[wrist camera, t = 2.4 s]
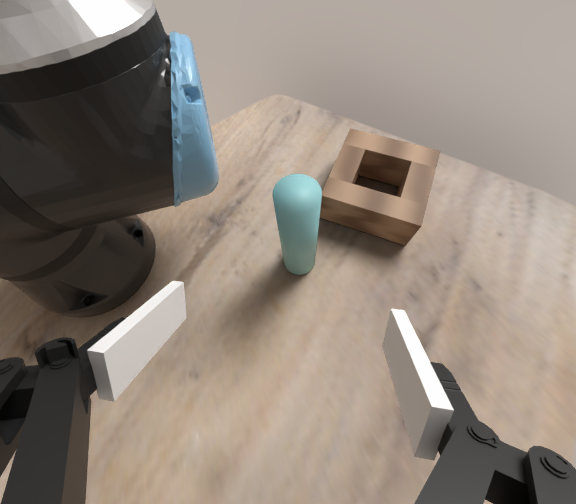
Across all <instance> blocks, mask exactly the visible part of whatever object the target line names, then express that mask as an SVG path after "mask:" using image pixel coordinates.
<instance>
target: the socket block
mask: <svg viewBox="0 0 576 504" xmlns="http://www.w3.org/2000/svg"><path fill="white" fill-rule="evenodd" d="M439 154H440V151H439V150H435V149H431V148H427V147H423V146H419V145H415V144H411V143H407V142H403V141H399V140H395V139H391V138H387V137H383V136H379V135H375V134H371V133H367V132H362V131H358V130H354V129H350V130H349V133H348V135H347V137H346V139H345V142H344V144H343V146H342V148H341V150H340V153H339V155H338V157H337V159H336V162H335V164H334V166H333V168H332V170H331V173H330V175H329V177H328V179H327V182H326V184H325V186H324V188H323V190H322V198H321V208H320V218H323V219H326V220H329V221H332V222H335V223H338V224H341V225H344V226H347V227H350V228H353V229H356V230H360V231H363V232H366V233H369V234H372V235H375V236H378V237H381V238H384V239H387V240H390V241H393V242H396V243H399V244H402V245H405V246H406V244H407V243H408V242H409V241H410V239H411V238H412V237H413V236H414V235H415V233H416V232H417V231H418V230H419V228H420V227H421V225H422V221H423V217H424V214H425V210H426V206H427V202H428V198H429V194H430V190H431V186H432V182H433V178H434V174H435V170H436V166H437V162H438V158H439ZM358 175H360V176H363V177H367V178H370V179H374V180H377V181H381V182H384V183H388V184H392V185H395V186H399V187H398V191H397V194H396V196H393V195H390V194H386V193H383V192H380V191H376V190H373V189H369V188H366V187H362V186H359V185H355V182H356V180H357V177H358Z"/></svg>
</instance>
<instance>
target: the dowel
mask: <svg viewBox="0 0 576 504" xmlns="http://www.w3.org/2000/svg"><path fill="white" fill-rule="evenodd" d="M321 198H322V190H321V187H320V185H319V183H318V182H317V181H316V180H315V179H313V178H312V177H310V176H307V175H304V174H292V175H288V176H286V177H284V178H282V179H281V180H279V181H278V182H277V184H276V185H275V187H274V189H273V201H274V207H275V213H276V218H277V224H278V230H279V236H280V242H281V247H282V253H283V259H284V264H285V267H286V268H287V270H288V271H289V272H291V273H293V274H296V275H303V274H306V273H308V272H309V271H311V269H312V268H313V267H314V264H315V256H316V246H317V237H318V227H319V218H320V208H321Z"/></svg>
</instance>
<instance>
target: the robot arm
mask: <svg viewBox="0 0 576 504" xmlns="http://www.w3.org/2000/svg"><path fill="white" fill-rule="evenodd" d="M218 181H219V171H218V164H217V159H216V153H215V148H214V143H213V138H212V133H211V128H210V123H209V118H208V114H207V109H206V103H205V98H204V94H203V89H202V85H201V80H200V75H199V70H198V66H197V63H196V59H195V54H194V50H193V45H192V42H191V40H190V38H189V37H188V36H187V35H183V34H178V33H177V32H171V33H170V35H167V34H166V33H165V31H164V28H163V26H162V23H161V21H160V18H159V16H158V13H157V11H156V8H155V5H154V3H153V1H152V0H0V278H2V279H5V280H8V281H10V282H12V283H13V284H14V285H15V286H17V287H18V288H19V289H20V290H22V291H23V292H24V293H25V294H27V295H28V296H29V297H31V298H32V299H33V300H34V301H36V302H37V303H38V304H39V305H41V306H42V307H44V308H46V309H48V310H50V311H53V312H56V313H60V314H64V315H68V316H74V317H88V316H94V315H98V314H101V313H104V312H107V311H109V310H111V309H113V308H115V307H117V306H118V305H120V304H122V303H123V302H124V301H126V300H127V299H128V298H129V297H131V296H132V295H133V294H134V293H135V292H136V291H137V290H138V289H139V287H140V286H141V285H142V284H143V282H144V281H145V279H146V278H147V276H148V274H149V272H150V270H151V268H152V265H153V262H154V257H155V240H154V237H153V234H152V232H151V230H150V228H149V227H148V226H147V225H146V224H145V223H144V222H143V221H142V220H141V219H140V218H139V217H138V216H137V215H136V214H140V213H144V212H148V211H153V210H157V209H161V208H165V207H169V206H173V205H174V206H175V207H176V206H179V205H180V204H181V203H182V202H185V201H188V200H191V199H195V198H198V197H201V196H205V195H207V194H209V193H211V192H212V191H213V190H214V189H215V187H216V186H217V184H218ZM186 318H187V317H186V305H185V293H184V282H179V281H172V282H170V283H169V284H168V285H167V286H165V287H164V288H163V289H162V290H160V291H159V292H158V293H157V294H156V295H154V296H153V297H152V298H151V299H149V300H148V301H147V302H146V303H144V304H143V305H142V306H141V307H140V308H138V309H137V310H136V311H135V312H133V313H132V314H131V315H130V316H129V317H127V318H121V319H119V320H116V321H114V322H112V323H111V324H110V325H108V326H107V327H106V328H104V330H102V331H101V332H99V333H98V334H97V335H96V336H94V337H93V338H92V339H90V340H89V341H88V342H87V343H85V344H84V345H83V346H81V347H80V348H79V349H78V350H77V347H76V343H75V340H74V339H72V338H59V339H55V340H52V341H49V342H47V343H45V344H43V345H42V346H41V347H39V348H38V349H37V350H36V352H35V355H36V358H37V361H38V364H39V365H36V366H25V364H24V361H23V359H21V358H18V357H15V358H8V359H3V360H0V477H1V475H2V473H3V471H4V470H5V468H6V466H7V464H8V463H9V461H10V459H11V458H12V456H13V454H14V452H15V451H16V453H15V457H14V460H13V464H12V467H11V471H10V474H9V478H8V481H7V485H6V488H5V491H4V495H3V498H2V502H1V504H85V499H86V482H87V465H88V448H89V431H90V414H91V399H90V395H91V394H92V393H93V392H94V391H95V390H96V389H97V392H98V396H99V399H104V400H109V401H115V400H116V399H117V398H118V397H119V396H120V395H121V393H122V392H123V391H124V390H125V389H126V388H127V386H128V385H129V384H130V383H131V382H132V381H133V379H134V378H135V377H136V376H137V375H138V374H139V372H140V371H141V370H142V369H143V368H144V367H145V366H146V364H147V363H148V362H149V361H150V360H151V359H152V357H153V356H154V355H155V354H156V353H157V352H158V350H159V349H160V348H161V347H162V346H163V345H164V343H165V342H166V341H167V340H168V339H169V338H170V337H171V335H172V334H173V333H174V332H175V331H176V330H177V328H178V327H179V326H180V325H181V324H182V323H183V321H184V320H185V319H186ZM382 347H383V350H384V354H385V357H386V360H387V364H388V367H389V371H390V374H391V378H392V381H393V385H394V388H395V392H396V395H397V399H398V402H399V405H400V409H401V412H402V416H403V419H404V423H405V426H406V430H407V433H408V437H409V440H410V444H411V447H412V450H413V454H414V457H419V458H425V459H430V460H434V459H435V457H436V454H437V452H438V451H439V454H440V458H439V460H438V461H437V463H436V465H435V467H434V469H433V471H432V472H431V474H430V476H429V478H428V480H427V482H426V483H425V485H424V487H423V489H422V491H421V493H420V494H419V496H418V498H417V500H416V502H415V504H483V503H484V500H487V501H489V502H491V503H493V504H576V469H575V468H574V467H573V466H572V465H571V464H570V463H569V462H568V461H567V460H565V459H564V458H563V457H562V456H560V455H559V454H557V453H555V452H554V451H552V450H550V449H547V448H544V447H542V446H533V447H532V448H530V449H529V451H528V453H527V452H524V451H522V450H520V449H517V448H515V447H513V446H510V445H508V444H506V443H504V442H502V441H500V439H499V437H498V436H497V435H496V434H495V432H494V431H493V430H492V429H491V428H489V427H488V426H487V425H485V424H484V423H482V422H480V421H478V419H477V417H476V415H475V414H474V412H473V410H472V408H471V407H470V405H469V403H468V401H467V400H466V398H465V396H464V394H463V393H462V392H461V389H460V387H459V386H458V384H457V383H456V380H455V379H454V377H453V375H452V373H451V372H450V371H449V370H448V369H447V368H446V367H445V366H444V365H443V364H440V363H434V362H430V361H429V359H428V357H427V355H426V353H425V351H424V349H423V347H422V345H421V343H420V341H419V339H418V337H417V335H416V333H415V331H414V329H413V327H412V325H411V323H410V321H409V319H408V317H407V315H406V313H405V311H404V310H398V309H391V311H390V315H389V319H388V324H387V328H386V332H385V336H384V341H383V345H382ZM16 449H17V450H16Z"/></svg>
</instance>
